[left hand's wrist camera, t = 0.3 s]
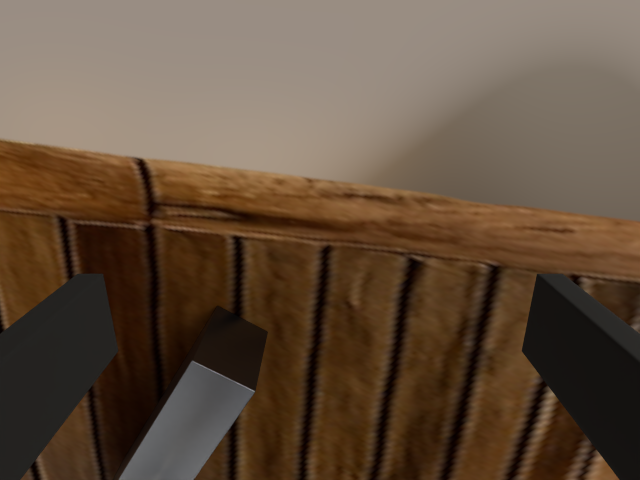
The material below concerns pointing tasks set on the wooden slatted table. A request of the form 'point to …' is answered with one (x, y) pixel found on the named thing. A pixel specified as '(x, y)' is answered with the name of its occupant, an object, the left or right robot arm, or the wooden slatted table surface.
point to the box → (199, 402)
